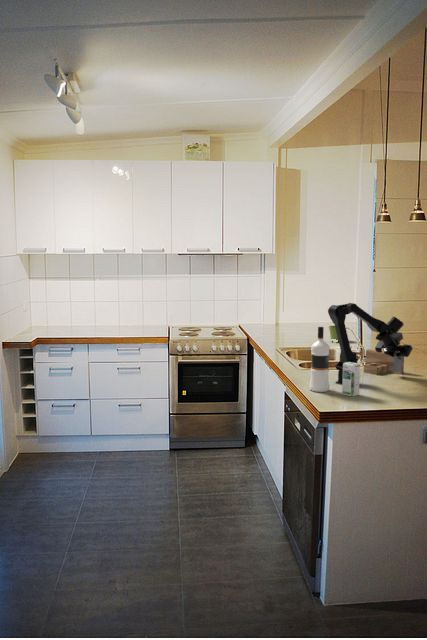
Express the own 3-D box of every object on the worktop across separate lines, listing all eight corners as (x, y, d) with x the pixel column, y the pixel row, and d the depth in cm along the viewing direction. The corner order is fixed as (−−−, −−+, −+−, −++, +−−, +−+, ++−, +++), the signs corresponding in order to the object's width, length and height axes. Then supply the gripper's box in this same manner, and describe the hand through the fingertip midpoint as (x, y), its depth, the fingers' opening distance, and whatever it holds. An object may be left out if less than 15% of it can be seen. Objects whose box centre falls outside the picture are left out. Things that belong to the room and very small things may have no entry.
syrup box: (341, 394, 245) (342, 363, 243) (348, 392, 249) (349, 361, 247) (352, 396, 241) (353, 365, 239) (359, 394, 245) (360, 363, 243)
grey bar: (397, 372, 278) (398, 347, 276) (393, 371, 279) (394, 346, 278) (401, 371, 280) (402, 346, 278) (397, 370, 282) (398, 345, 280)
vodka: (307, 387, 257) (308, 325, 253) (326, 387, 258) (328, 325, 254) (311, 392, 248) (313, 328, 244) (331, 392, 248) (333, 328, 245)
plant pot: (327, 343, 384) (327, 327, 382) (328, 340, 395) (329, 325, 393) (344, 343, 380) (344, 328, 379) (345, 341, 391) (345, 325, 390)
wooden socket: (388, 377, 279) (388, 358, 277) (353, 370, 296) (353, 352, 294) (403, 373, 287) (404, 355, 286) (368, 366, 304) (369, 349, 303)
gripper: (411, 329, 267) (422, 349, 275) (379, 325, 282) (390, 344, 290) (401, 346, 263) (413, 366, 271) (369, 341, 278) (381, 360, 286)
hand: (399, 358), depth 280 cm, fingers closed on grey bar, 2 cm apart
